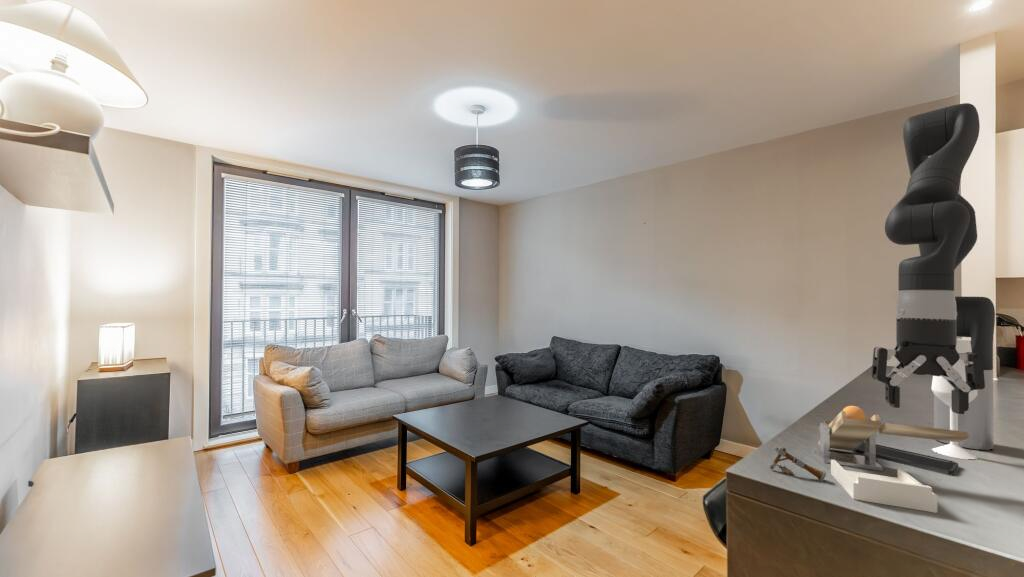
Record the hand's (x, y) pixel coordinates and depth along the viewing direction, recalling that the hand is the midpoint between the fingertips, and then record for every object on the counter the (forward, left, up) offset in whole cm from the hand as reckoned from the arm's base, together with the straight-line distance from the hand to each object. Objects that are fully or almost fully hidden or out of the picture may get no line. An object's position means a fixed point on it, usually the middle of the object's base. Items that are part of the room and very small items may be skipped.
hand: (925, 409), depth 73 cm
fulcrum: (-6, -9, -12) cm, 17 cm away
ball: (-3, -9, -3) cm, 10 cm away
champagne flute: (-22, +14, -13) cm, 29 cm away
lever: (-6, -3, -8) cm, 10 cm away
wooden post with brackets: (+7, -20, -13) cm, 25 cm away
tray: (+8, -9, -12) cm, 17 cm away
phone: (-13, +2, -13) cm, 19 cm away
